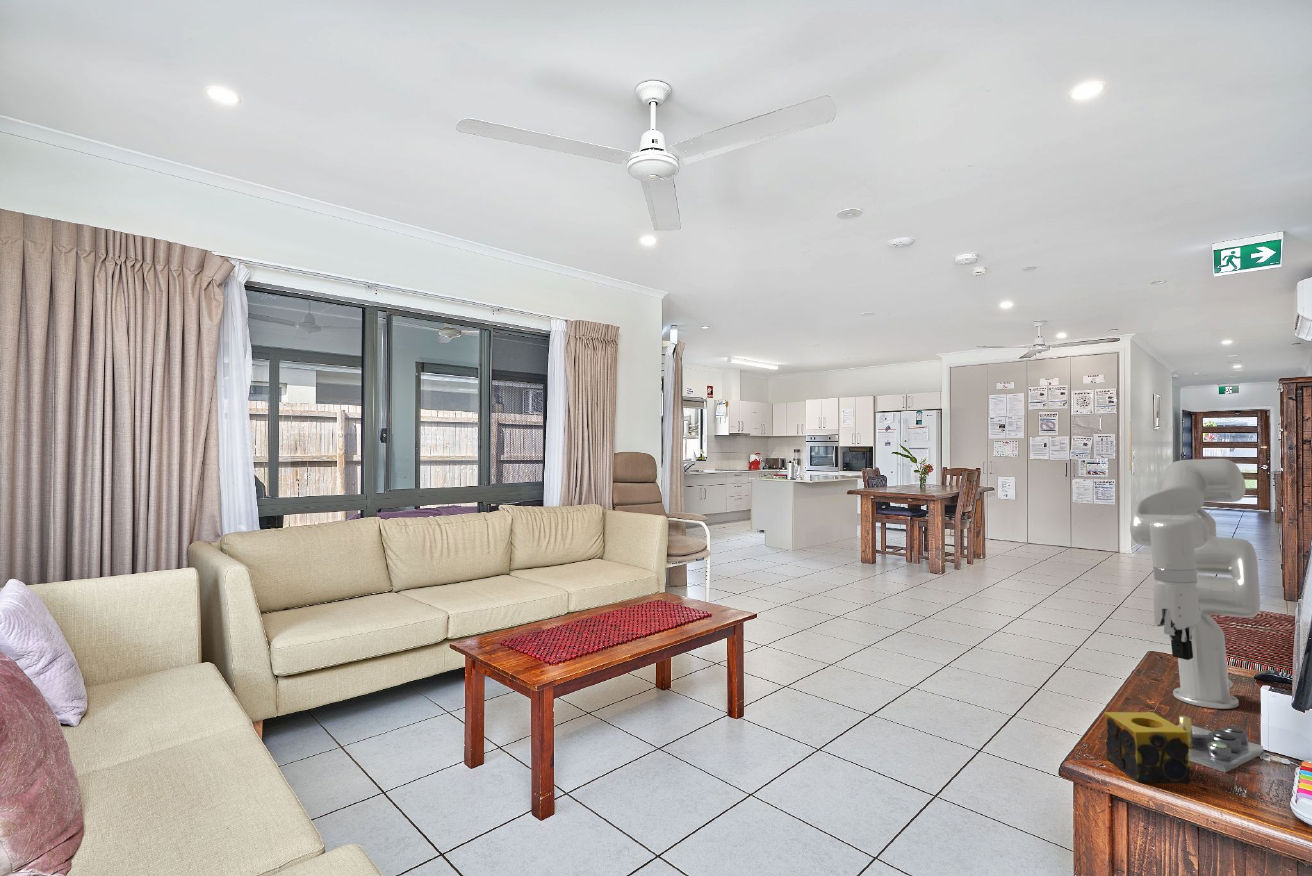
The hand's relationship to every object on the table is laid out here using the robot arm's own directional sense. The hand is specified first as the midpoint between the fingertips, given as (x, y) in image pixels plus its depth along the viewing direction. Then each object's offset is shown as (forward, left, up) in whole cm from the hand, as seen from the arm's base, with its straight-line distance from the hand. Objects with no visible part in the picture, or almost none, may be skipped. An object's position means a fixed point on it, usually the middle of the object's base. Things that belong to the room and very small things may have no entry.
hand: (1182, 657), depth 140 cm
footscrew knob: (+4, +5, -16) cm, 18 cm away
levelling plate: (+3, +4, -18) cm, 19 cm away
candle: (+22, +3, -18) cm, 29 cm away
